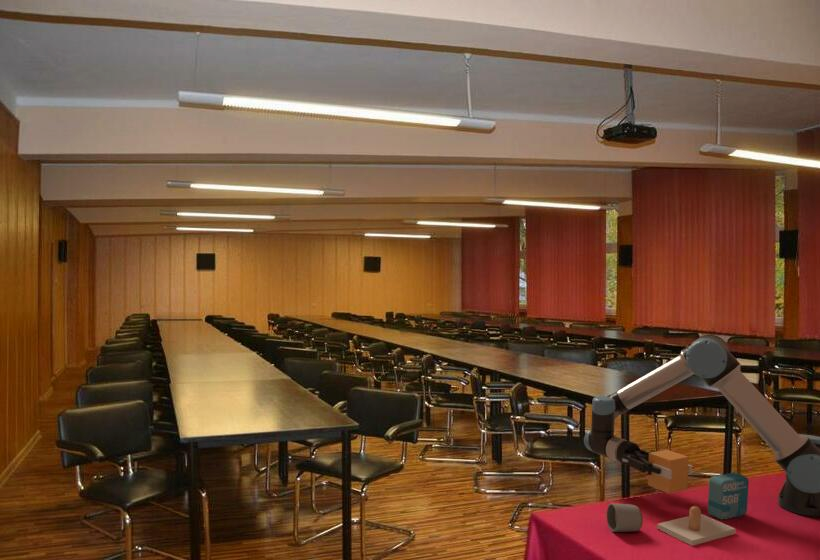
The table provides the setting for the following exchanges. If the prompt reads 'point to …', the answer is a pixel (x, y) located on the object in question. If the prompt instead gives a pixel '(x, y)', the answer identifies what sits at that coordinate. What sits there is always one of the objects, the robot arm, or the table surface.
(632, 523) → the ceramic mug
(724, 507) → the data package
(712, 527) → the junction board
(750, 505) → the table surface
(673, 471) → the tall orange block
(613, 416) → the robot arm
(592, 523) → the table surface
